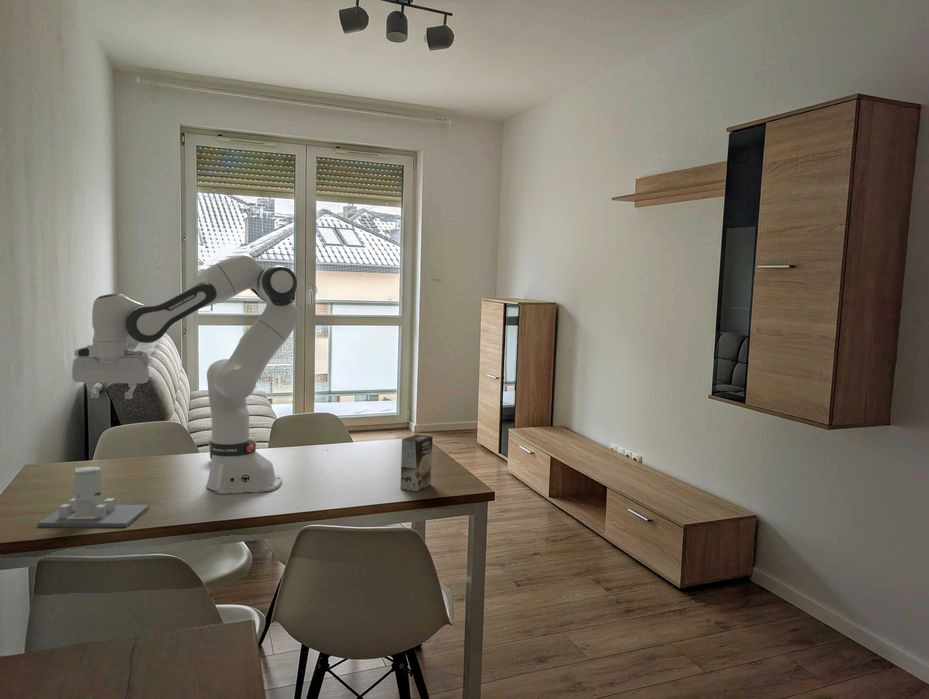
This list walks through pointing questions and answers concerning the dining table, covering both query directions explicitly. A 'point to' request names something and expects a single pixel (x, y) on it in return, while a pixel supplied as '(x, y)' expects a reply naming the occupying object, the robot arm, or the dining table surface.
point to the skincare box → (87, 490)
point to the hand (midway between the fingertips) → (111, 398)
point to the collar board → (102, 518)
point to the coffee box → (416, 462)
